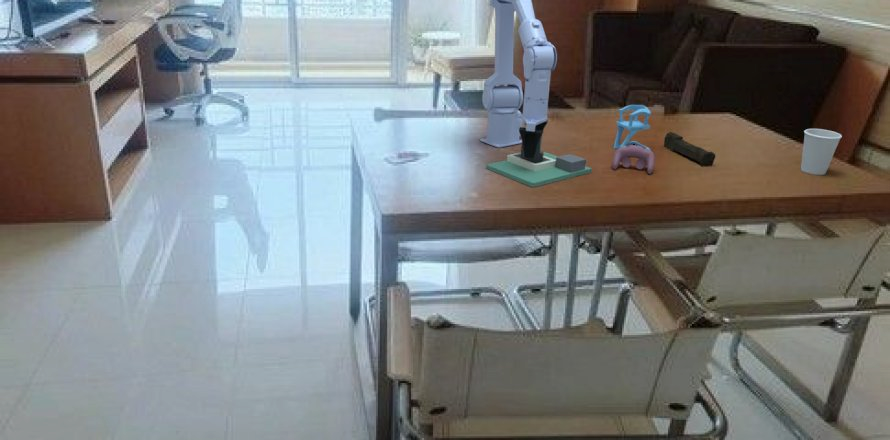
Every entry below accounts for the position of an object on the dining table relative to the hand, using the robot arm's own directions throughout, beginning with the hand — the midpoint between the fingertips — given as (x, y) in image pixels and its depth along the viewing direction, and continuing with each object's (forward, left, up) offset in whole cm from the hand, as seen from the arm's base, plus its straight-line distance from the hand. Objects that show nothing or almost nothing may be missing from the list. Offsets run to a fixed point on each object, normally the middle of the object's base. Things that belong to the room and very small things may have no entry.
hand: (531, 153), depth 162 cm
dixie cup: (-60, +41, -4) cm, 73 cm away
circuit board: (0, +3, -4) cm, 5 cm away
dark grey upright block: (0, 0, -3) cm, 3 cm away
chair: (-35, +3, -4) cm, 35 cm away
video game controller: (-21, +15, -4) cm, 26 cm away
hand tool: (-43, +15, -4) cm, 45 cm away
